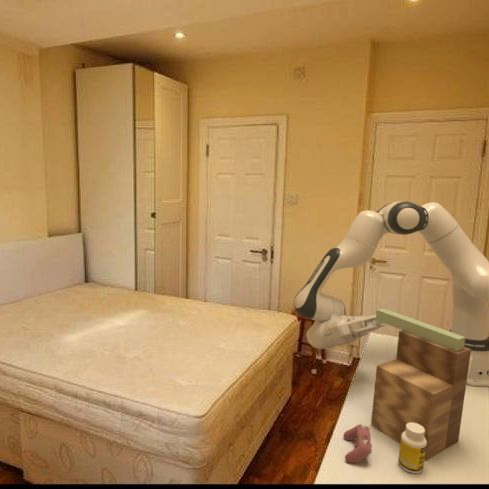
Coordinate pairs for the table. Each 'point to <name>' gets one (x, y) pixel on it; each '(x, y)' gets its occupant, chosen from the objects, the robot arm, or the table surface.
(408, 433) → the supplement bottle
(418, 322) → the bar
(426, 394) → the pedestal
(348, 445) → the table surface
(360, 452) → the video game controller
